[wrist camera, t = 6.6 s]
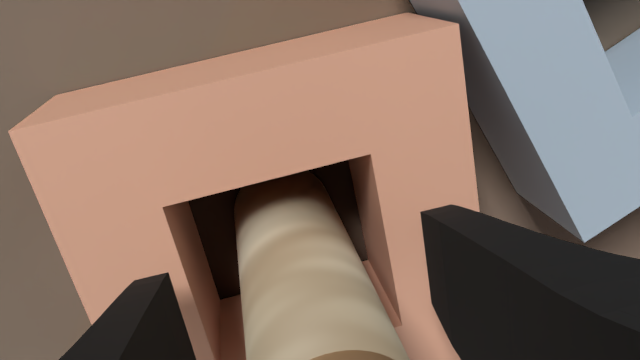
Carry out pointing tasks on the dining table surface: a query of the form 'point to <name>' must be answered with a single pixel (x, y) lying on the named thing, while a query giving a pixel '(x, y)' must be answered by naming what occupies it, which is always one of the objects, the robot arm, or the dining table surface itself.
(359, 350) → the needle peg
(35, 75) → the dining table surface
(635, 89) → the pale blue square ring
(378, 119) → the pink square ring
